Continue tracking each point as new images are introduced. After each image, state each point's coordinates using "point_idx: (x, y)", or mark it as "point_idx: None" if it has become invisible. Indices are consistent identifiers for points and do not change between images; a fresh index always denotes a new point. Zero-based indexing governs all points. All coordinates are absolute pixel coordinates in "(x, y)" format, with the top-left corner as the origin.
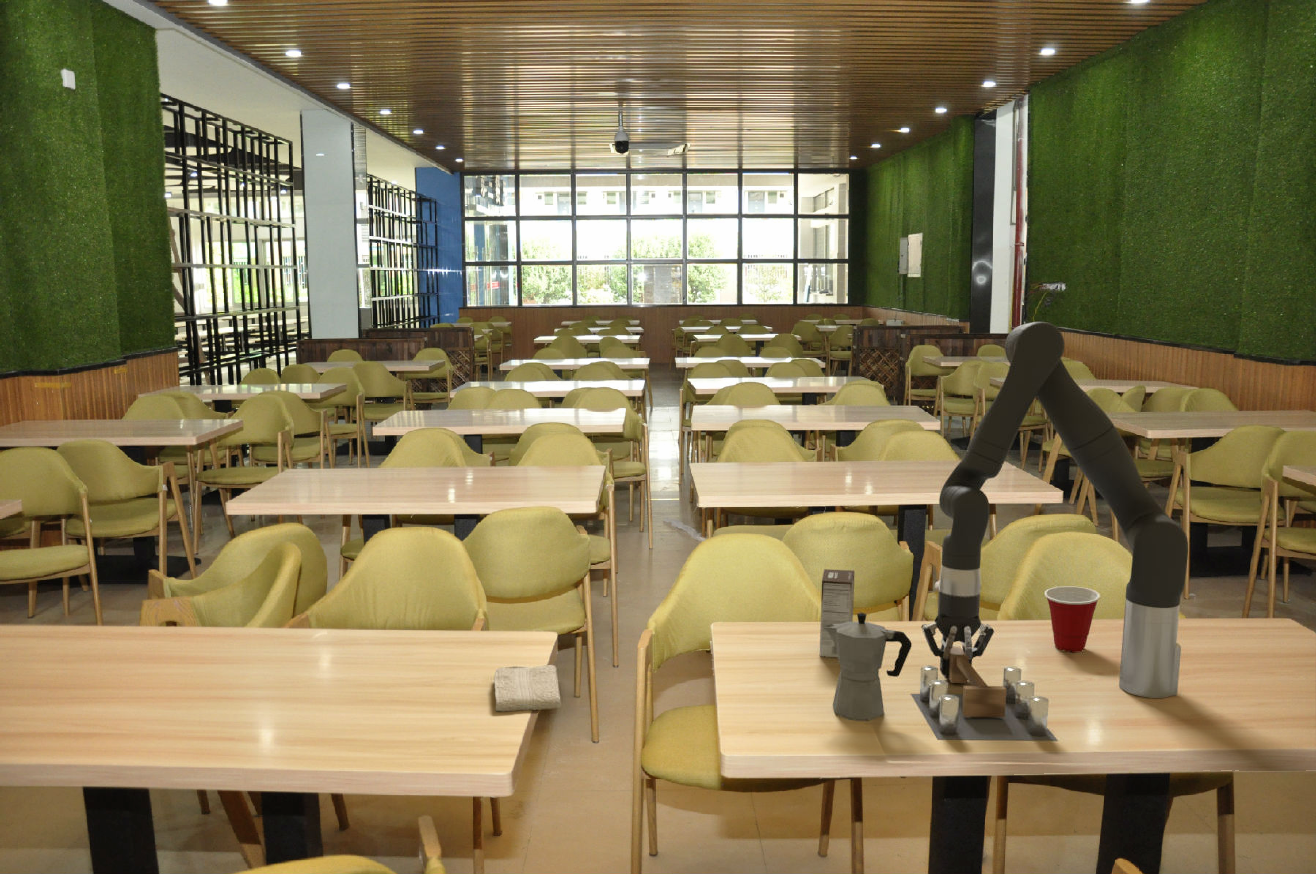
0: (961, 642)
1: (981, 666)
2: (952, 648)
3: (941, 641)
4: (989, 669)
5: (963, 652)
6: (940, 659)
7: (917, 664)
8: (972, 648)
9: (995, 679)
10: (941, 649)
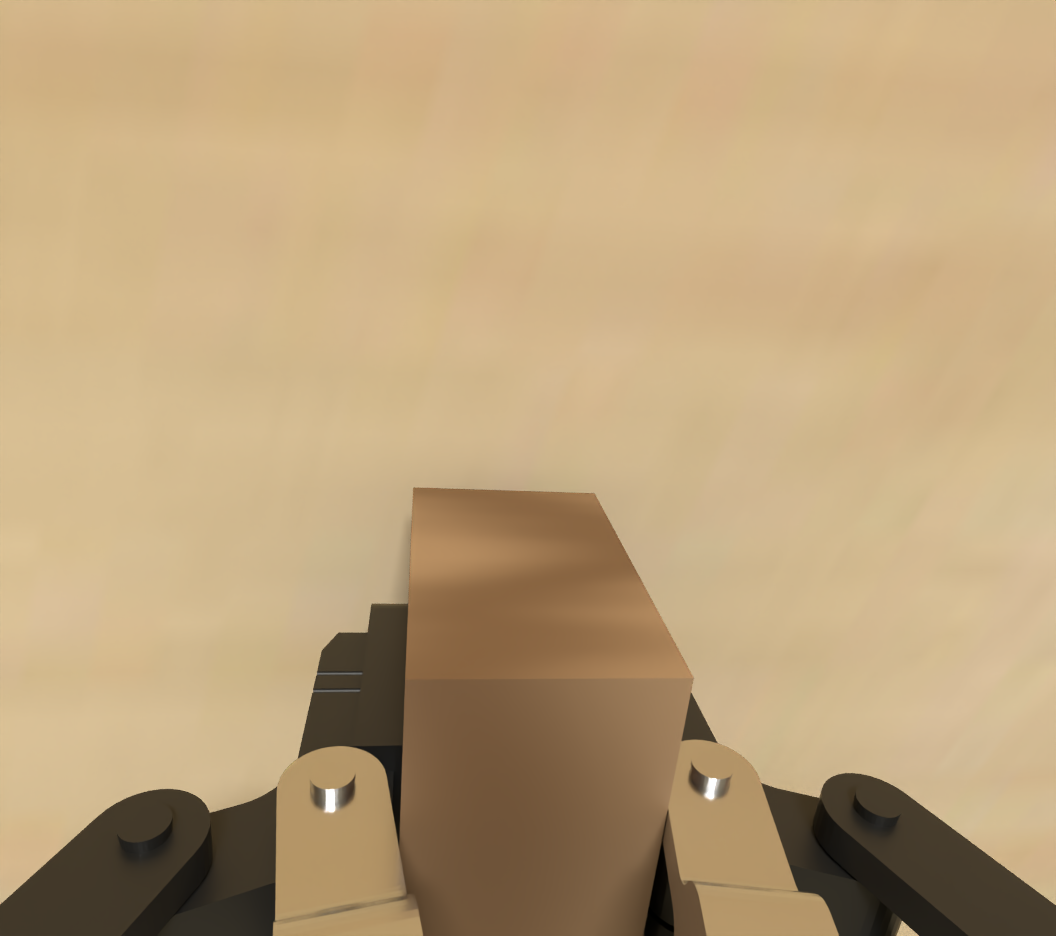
0: (691, 906)
1: (976, 176)
2: (517, 772)
3: (274, 930)
4: (1005, 281)
5: (627, 908)
6: (300, 755)
7: (178, 24)
8: (813, 882)
9: (901, 553)
10: (273, 909)
